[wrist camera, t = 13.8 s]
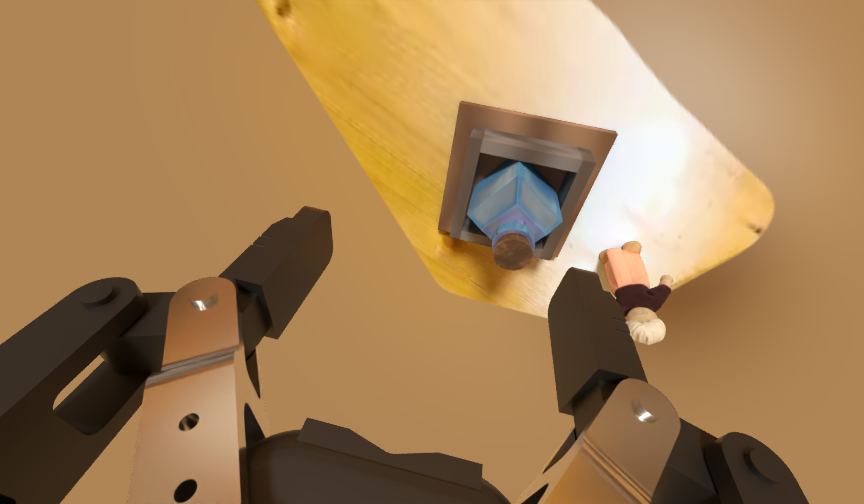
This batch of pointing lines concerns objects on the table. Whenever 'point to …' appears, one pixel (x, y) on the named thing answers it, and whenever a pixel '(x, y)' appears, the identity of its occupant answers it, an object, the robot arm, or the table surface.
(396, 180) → the table surface
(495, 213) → the perfume bottle
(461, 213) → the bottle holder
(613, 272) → the grandmother figurine
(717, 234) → the table surface
